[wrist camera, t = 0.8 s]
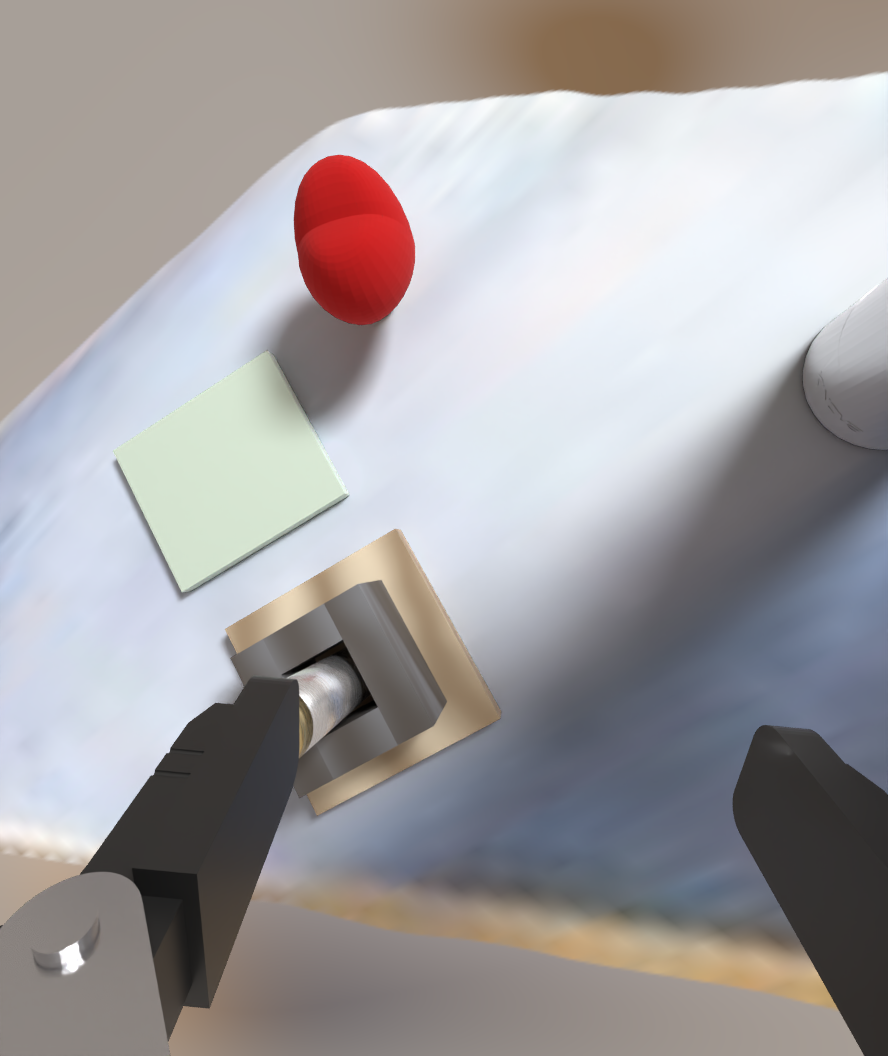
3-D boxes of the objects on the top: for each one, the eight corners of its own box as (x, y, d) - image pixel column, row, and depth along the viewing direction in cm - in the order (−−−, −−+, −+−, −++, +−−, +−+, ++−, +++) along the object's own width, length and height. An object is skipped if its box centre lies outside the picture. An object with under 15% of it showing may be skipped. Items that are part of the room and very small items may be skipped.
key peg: (366, 636, 36) (274, 682, 23) (391, 683, 35) (312, 757, 22) (322, 660, 36) (208, 719, 23) (346, 707, 36) (244, 794, 23)
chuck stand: (400, 529, 37) (374, 524, 31) (501, 712, 35) (495, 746, 29) (236, 626, 39) (178, 640, 32) (325, 805, 37) (283, 857, 31)
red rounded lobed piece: (442, 350, 37) (411, 277, 27) (347, 372, 38) (285, 309, 28) (419, 225, 38) (382, 110, 28) (327, 250, 39) (259, 148, 29)
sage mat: (273, 355, 39) (267, 350, 38) (349, 495, 38) (344, 493, 37) (122, 453, 41) (112, 450, 40) (190, 591, 39) (181, 592, 38)
